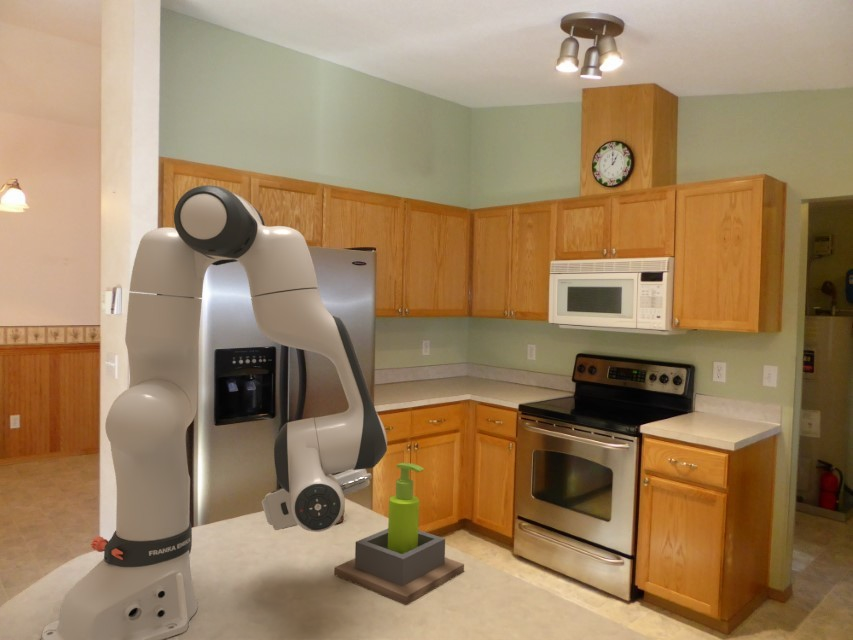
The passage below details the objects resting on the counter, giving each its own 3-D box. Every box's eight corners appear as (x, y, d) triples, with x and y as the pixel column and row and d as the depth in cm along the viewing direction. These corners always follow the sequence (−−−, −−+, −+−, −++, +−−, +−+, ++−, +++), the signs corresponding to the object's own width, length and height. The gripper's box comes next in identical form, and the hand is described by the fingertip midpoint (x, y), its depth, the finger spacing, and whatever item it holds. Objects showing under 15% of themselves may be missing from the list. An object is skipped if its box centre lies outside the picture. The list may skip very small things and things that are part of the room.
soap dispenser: (409, 576, 114) (413, 470, 113) (381, 566, 117) (384, 464, 117) (427, 565, 118) (430, 464, 118) (399, 556, 122) (402, 458, 122)
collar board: (406, 605, 105) (407, 568, 105) (334, 574, 116) (335, 541, 116) (463, 571, 120) (464, 538, 120) (395, 547, 131) (395, 517, 131)
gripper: (367, 459, 110) (361, 456, 123) (255, 498, 105) (262, 491, 118) (378, 493, 109) (371, 486, 122) (265, 534, 104) (271, 522, 118)
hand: (316, 489), depth 120 cm, fingers open, 8 cm apart
